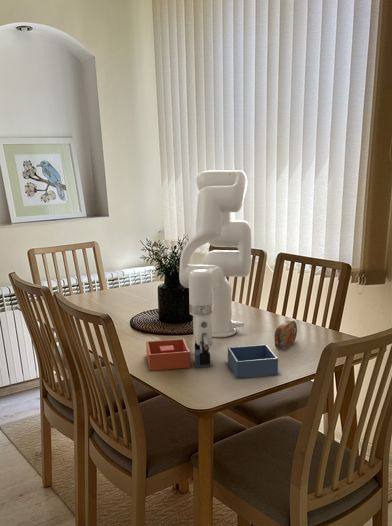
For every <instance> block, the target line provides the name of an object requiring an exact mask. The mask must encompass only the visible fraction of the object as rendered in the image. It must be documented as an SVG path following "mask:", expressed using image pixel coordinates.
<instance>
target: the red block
mask: <svg viewBox="0 0 392 526" xmlns="http://www.w3.org/2000/svg"><path fill="white" fill-rule="evenodd" d="M173 352H175V350H174V347H173V345H169V346H160V353H173Z"/></svg>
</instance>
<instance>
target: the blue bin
mask: <svg viewBox="0 0 392 526" xmlns="http://www.w3.org/2000/svg"><path fill="white" fill-rule="evenodd" d="M227 364H228V366H229V368H230V370H231V371H232V373H233V374H234V376H235V378H236V379H243V378H244V379H245V378H256V377H257V378H258V377H267V376H278V375H279V358H278V356H277V355H276V353H274V352H273V350H272V349H271V348H270V347H269V346H268V345H267V344H255V345H253V344H251V345H240V346H229V347H227Z"/></svg>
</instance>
